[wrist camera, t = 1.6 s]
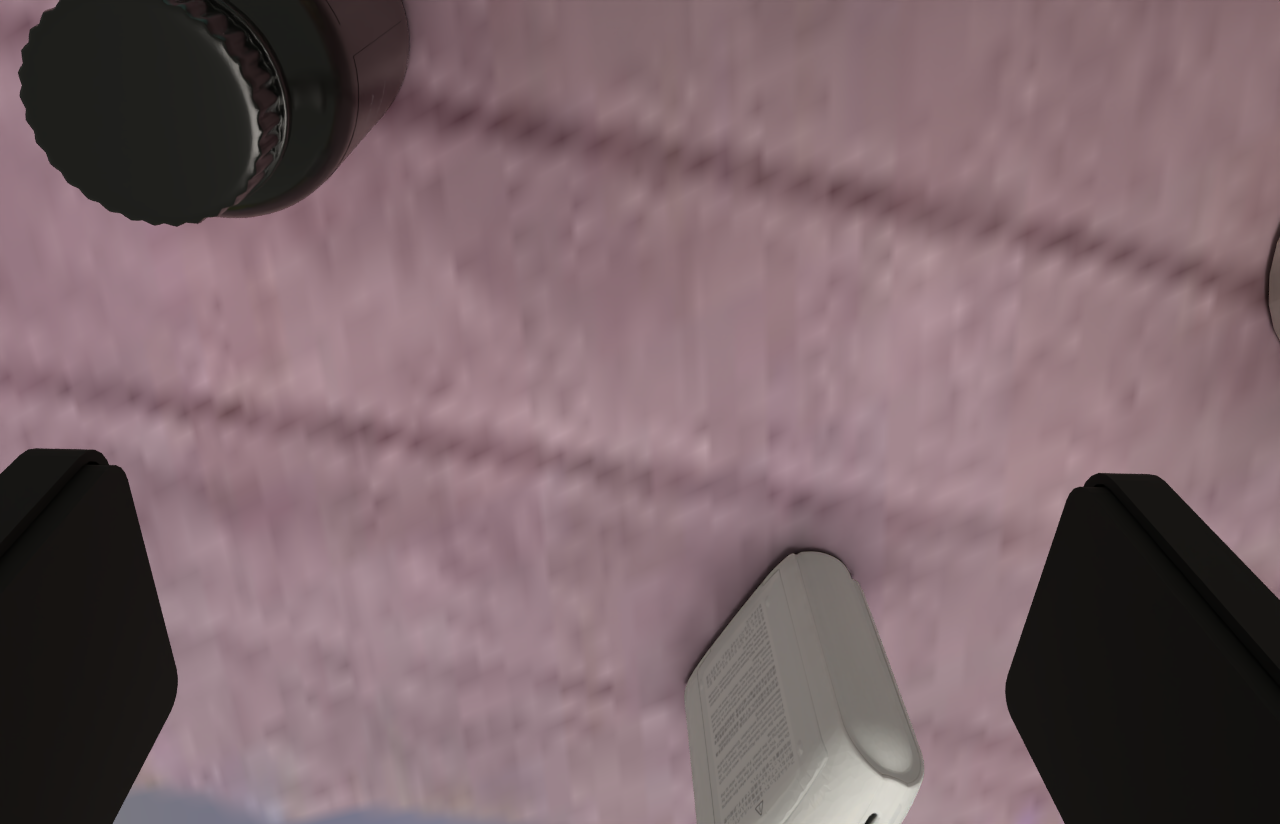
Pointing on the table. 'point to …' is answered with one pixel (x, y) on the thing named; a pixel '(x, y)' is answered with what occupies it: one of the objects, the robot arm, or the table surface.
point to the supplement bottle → (208, 98)
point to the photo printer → (801, 709)
